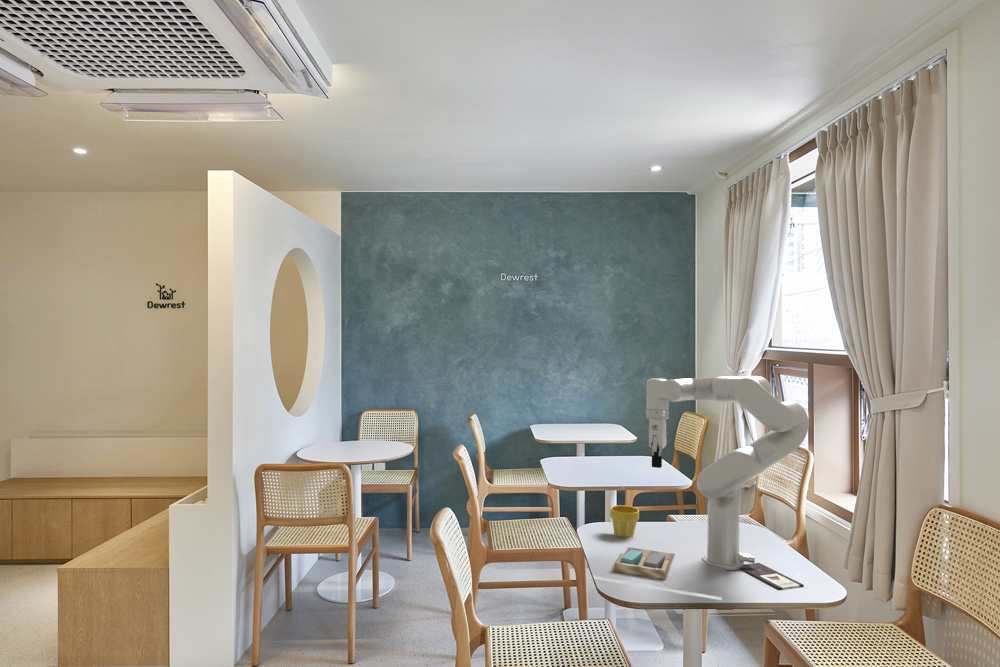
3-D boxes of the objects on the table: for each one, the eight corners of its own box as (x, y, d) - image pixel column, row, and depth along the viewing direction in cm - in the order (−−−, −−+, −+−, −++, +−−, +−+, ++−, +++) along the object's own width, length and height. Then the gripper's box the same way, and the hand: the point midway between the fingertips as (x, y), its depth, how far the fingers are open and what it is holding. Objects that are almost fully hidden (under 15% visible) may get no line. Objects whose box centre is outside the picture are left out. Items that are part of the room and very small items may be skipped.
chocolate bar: (759, 562, 190) (803, 584, 173) (759, 565, 190) (803, 588, 173) (735, 565, 187) (778, 588, 170) (735, 568, 187) (778, 591, 170)
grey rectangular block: (665, 566, 184) (665, 555, 184) (656, 576, 177) (656, 564, 177) (653, 564, 186) (653, 552, 186) (644, 573, 179) (644, 561, 179)
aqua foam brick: (642, 562, 187) (642, 551, 187) (632, 571, 180) (632, 560, 180) (631, 560, 189) (631, 549, 189) (621, 569, 182) (621, 557, 182)
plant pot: (643, 535, 217) (643, 508, 217) (631, 542, 209) (631, 514, 209) (617, 529, 223) (617, 503, 223) (604, 536, 215) (605, 509, 215)
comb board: (674, 556, 196) (675, 546, 196) (665, 583, 174) (665, 572, 174) (628, 549, 202) (628, 540, 202) (613, 574, 179) (613, 563, 179)
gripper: (665, 417, 198) (665, 472, 198) (670, 412, 212) (670, 464, 212) (642, 415, 201) (642, 470, 201) (649, 411, 215) (648, 462, 215)
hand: (656, 467), depth 206 cm, fingers closed
